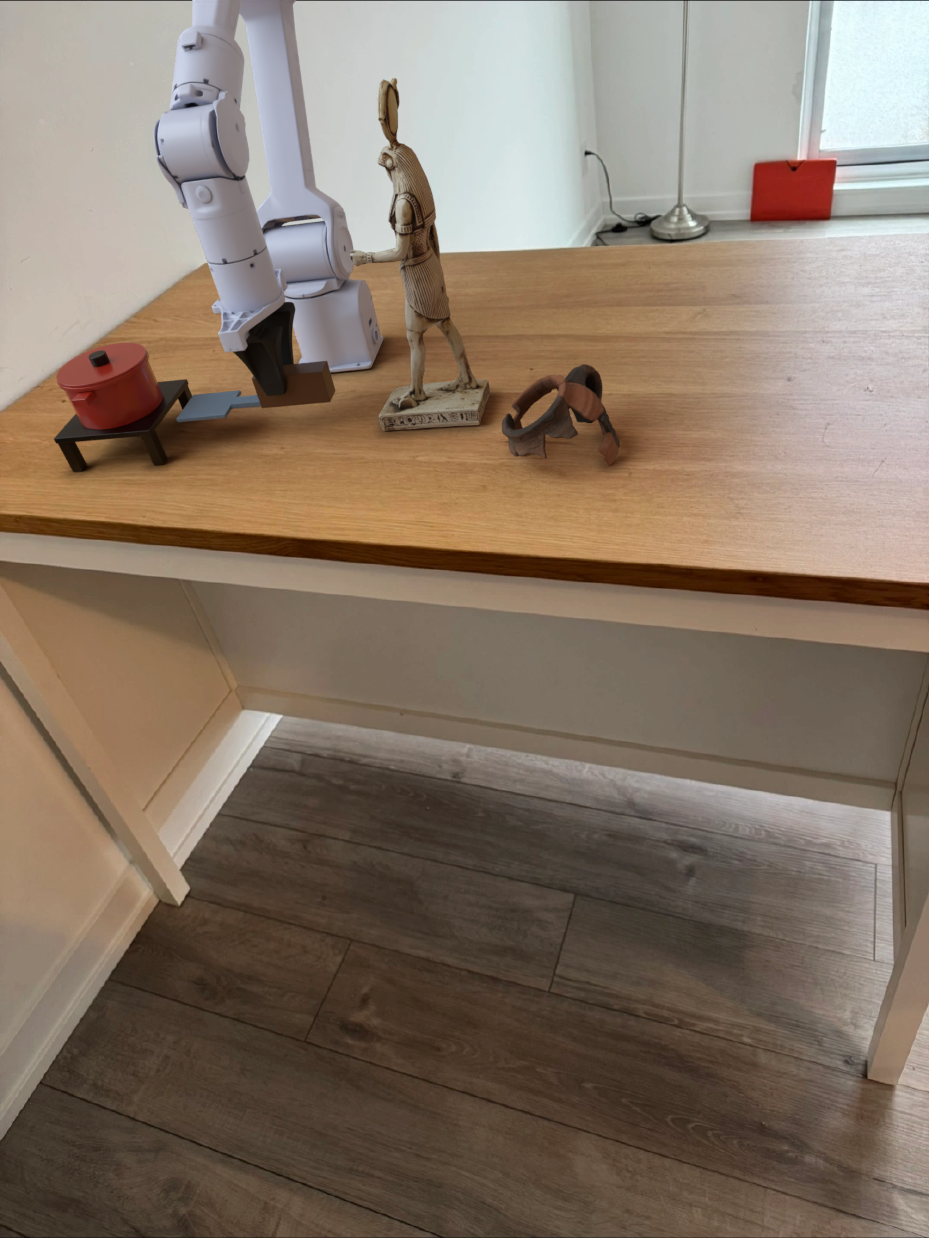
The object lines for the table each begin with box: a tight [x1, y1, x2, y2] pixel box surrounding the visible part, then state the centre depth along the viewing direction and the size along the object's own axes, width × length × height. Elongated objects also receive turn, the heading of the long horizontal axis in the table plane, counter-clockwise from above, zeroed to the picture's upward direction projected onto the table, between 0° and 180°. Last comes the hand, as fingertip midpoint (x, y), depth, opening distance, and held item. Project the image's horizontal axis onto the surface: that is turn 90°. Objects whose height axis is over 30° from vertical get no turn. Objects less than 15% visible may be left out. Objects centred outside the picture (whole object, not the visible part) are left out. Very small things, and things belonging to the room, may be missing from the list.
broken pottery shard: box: [501, 363, 621, 467], centre depth 80 cm, size 12×10×8 cm
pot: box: [53, 342, 193, 473], centre depth 93 cm, size 11×12×10 cm
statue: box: [350, 77, 491, 432], centre depth 81 cm, size 7×10×30 cm
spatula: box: [176, 361, 336, 423], centre depth 90 cm, size 16×5×3 cm, turn 83°
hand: (280, 386), depth 90 cm, fingers closed on spatula, 2 cm apart
